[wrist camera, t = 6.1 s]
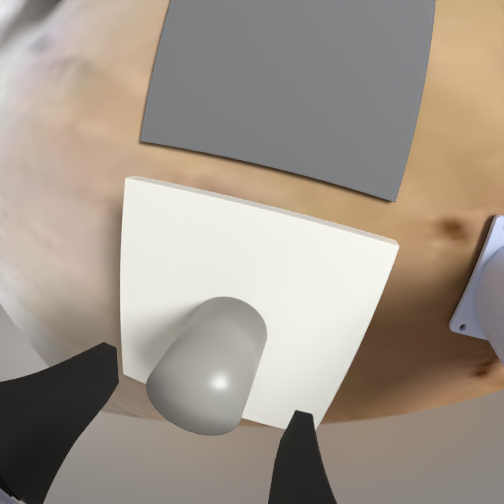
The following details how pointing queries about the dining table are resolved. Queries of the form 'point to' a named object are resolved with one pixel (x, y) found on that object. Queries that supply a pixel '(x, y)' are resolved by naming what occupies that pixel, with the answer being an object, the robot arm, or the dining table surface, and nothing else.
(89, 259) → the dining table surface
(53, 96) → the dining table surface
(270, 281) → the lid
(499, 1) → the dining table surface
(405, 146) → the mat
